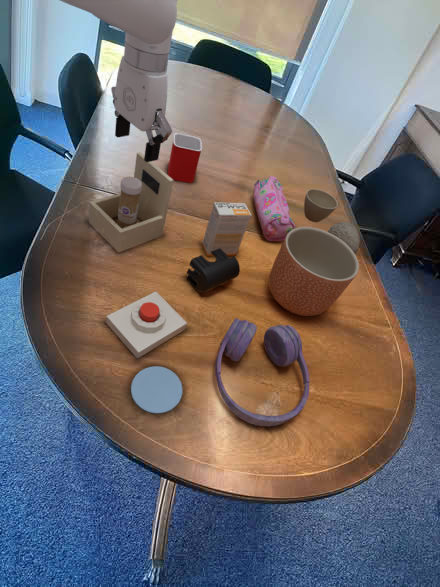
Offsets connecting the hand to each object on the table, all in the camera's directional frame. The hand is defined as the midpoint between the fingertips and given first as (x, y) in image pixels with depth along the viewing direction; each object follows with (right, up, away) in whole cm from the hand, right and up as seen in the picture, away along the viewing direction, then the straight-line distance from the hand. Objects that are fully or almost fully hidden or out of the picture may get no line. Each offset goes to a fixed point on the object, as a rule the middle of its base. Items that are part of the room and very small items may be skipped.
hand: (136, 147), depth 79 cm
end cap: (+15, -27, +11) cm, 33 cm away
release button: (+4, -34, -5) cm, 35 cm away
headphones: (+24, -47, -4) cm, 53 cm away
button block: (+3, -36, -3) cm, 37 cm away
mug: (+5, +8, +39) cm, 40 cm away
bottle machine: (-6, -14, +15) cm, 21 cm away
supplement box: (+17, -19, +19) cm, 32 cm away
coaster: (+6, -47, -11) cm, 49 cm away
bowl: (+46, -6, +42) cm, 63 cm away
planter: (+35, -31, +15) cm, 49 cm away
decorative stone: (+50, -19, +31) cm, 62 cm away
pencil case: (+31, -9, +34) cm, 47 cm away
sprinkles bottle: (-6, -14, +15) cm, 22 cm away
